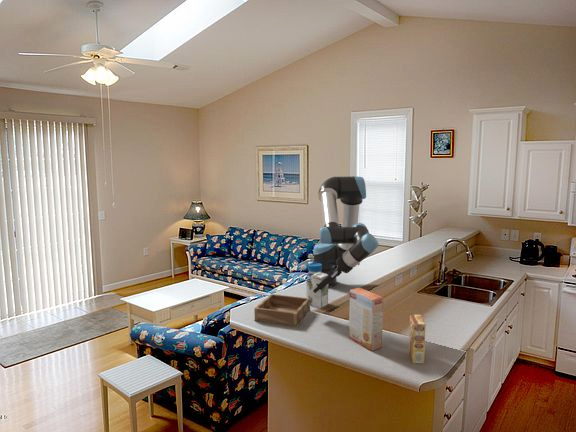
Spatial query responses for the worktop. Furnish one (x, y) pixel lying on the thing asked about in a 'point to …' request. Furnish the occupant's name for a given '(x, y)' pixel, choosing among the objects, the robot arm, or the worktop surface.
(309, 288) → the beverage bottle
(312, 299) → the syrup box
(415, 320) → the candy box
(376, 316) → the cracker box
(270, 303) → the crate
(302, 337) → the worktop surface
